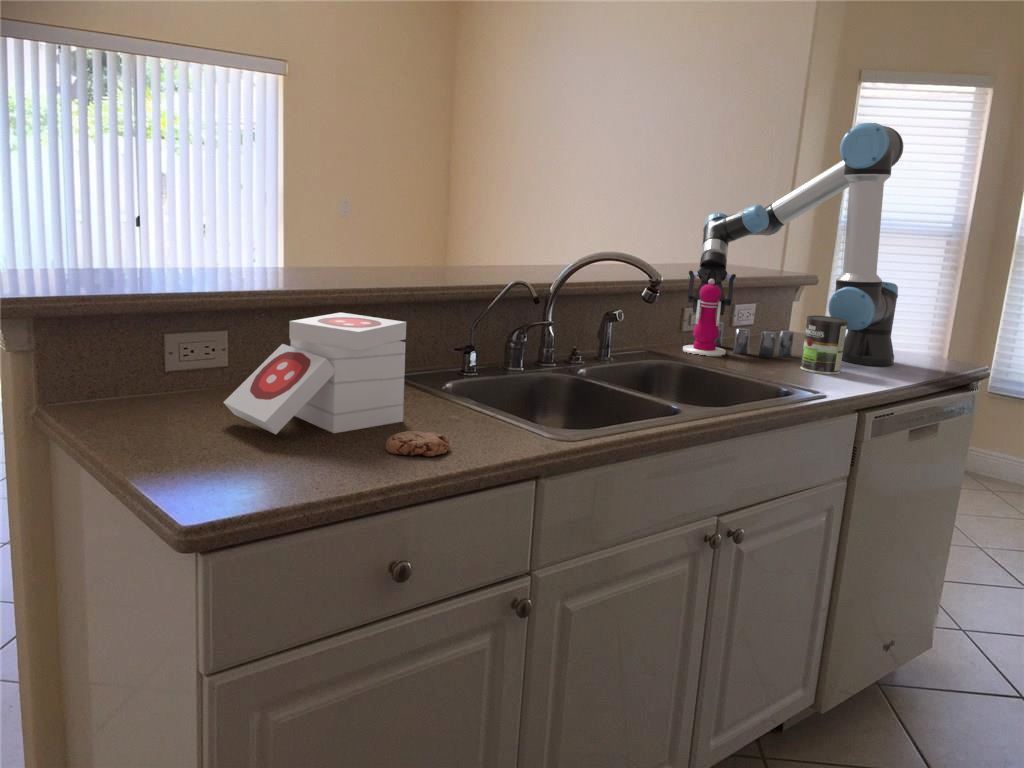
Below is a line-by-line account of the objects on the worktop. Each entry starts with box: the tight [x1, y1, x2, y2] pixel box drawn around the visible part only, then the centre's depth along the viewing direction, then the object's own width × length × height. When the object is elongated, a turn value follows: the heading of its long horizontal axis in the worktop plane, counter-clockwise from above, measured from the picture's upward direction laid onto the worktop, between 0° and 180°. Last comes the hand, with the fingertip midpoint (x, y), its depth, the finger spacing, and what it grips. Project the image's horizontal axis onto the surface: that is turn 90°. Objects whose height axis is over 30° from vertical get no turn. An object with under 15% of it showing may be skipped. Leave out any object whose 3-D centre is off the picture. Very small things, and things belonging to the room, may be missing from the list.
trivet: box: [682, 344, 727, 357], centre depth 256 cm, size 12×12×1 cm
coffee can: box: [799, 315, 848, 376], centre depth 237 cm, size 10×10×14 cm
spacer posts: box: [714, 321, 795, 359], centre depth 261 cm, size 20×18×7 cm
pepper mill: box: [692, 279, 721, 351], centre depth 253 cm, size 7×7×20 cm
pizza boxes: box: [223, 312, 407, 435], centre depth 159 cm, size 19×30×18 cm, turn 133°
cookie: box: [385, 430, 451, 457], centre depth 148 cm, size 10×11×3 cm
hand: (707, 321), depth 250 cm, fingers closed on pepper mill, 5 cm apart
